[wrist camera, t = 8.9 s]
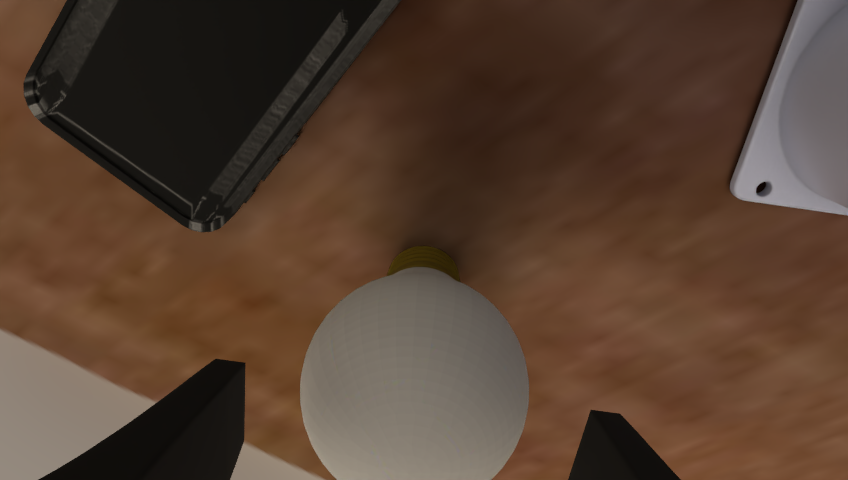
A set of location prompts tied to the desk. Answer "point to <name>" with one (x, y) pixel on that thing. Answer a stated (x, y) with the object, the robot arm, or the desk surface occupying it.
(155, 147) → the phone
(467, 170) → the desk surface
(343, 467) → the light bulb
